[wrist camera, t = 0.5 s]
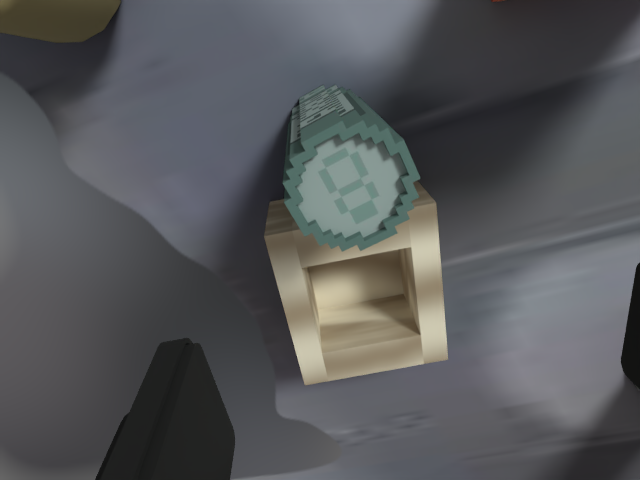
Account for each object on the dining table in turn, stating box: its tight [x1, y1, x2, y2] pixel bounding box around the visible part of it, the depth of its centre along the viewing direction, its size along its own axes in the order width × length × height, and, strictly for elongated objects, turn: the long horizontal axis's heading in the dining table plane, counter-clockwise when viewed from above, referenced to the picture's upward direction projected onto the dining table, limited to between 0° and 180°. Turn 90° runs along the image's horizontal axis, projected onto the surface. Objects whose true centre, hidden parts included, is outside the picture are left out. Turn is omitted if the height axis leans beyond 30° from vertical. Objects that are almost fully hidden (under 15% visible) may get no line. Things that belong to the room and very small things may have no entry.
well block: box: [264, 180, 448, 385], centre depth 35 cm, size 14×12×7 cm
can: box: [283, 85, 421, 252], centre depth 26 cm, size 6×6×15 cm
